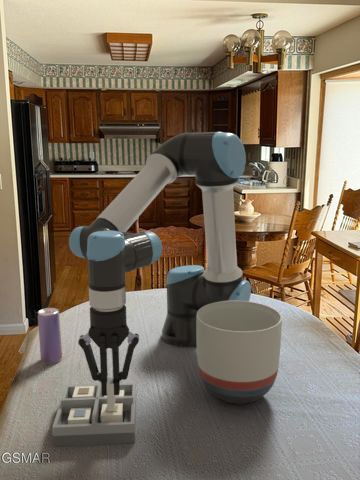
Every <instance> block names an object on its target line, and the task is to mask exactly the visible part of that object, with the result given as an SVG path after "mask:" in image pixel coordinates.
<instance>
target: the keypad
mask: <svg viewBox="0 0 360 480" xmlns="http://www.w3.org/2000/svg"><path fill="white" fill-rule="evenodd" d="M82 386H94V387H95V397H89V398H72V397H73V393H74V389H75V387H82ZM120 390H124V396H115V404H117V403H123V422H116V423H101V410H102V404H107V397H104V396H103V395H102V387H101V382H100V381H98V382H97V383H96V382H95V383H94V382H93V383H80V384H70V385H69V384H66V385H65V386H64V390H63V392H62V395H61V399H60V401H59V405H58V407H57V411H56V415H55V416H54V417H55V418H54V420H53V424H52V426H51V430H52V432H51V433H52V445H53V447H74V446H96V445H98V446H99V445H116V444H119V445H120V444H135V443H136V426H137V425H136V424H137V422H136V421H137V419H136V418H137V382H122V381H120ZM71 408H91V410H92V419H91V420H92V423H91V424H69V425H68V417H69V414H70V410H71Z"/></svg>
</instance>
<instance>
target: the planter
mask: <svg viewBox="0 0 360 480" xmlns="http://www.w3.org/2000/svg"><path fill="white" fill-rule="evenodd" d="M282 323H283V317H282V314H281V313H280V312H279V310H278V309H276V308H273V307H271V306H269V305H266V304H263V303H259V302H254V301H250V300H249V301H221V302H215V303H211V304H208V305H205V306H203V307H202V308H200V309H199V310H198V312H197V315H196V340H197V346H196V359H197V360H196V362H197V370H198V373H199V377H200V380H201V382H202V385H204V387H205V388H206V389H207V391H208V392H209V393H211V394H212V395H213V396H214V397H216V398H217V399H219V400H221V401H224V402H226V403H229V404H235V405H236V404H237V405H242V404H249V403H252V402H256V401H257V400H259V399H261V398H262V397H264V396H265V395H266V394H267V393H268V392H270V390H271V389H272V388H273V386H274V383H275V382H276V378H277V375H278V372H279V366H280V356H281V355H280V354H281V344H282V343H281V341H282V330H283V329H282V325H283V324H282Z"/></svg>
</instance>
